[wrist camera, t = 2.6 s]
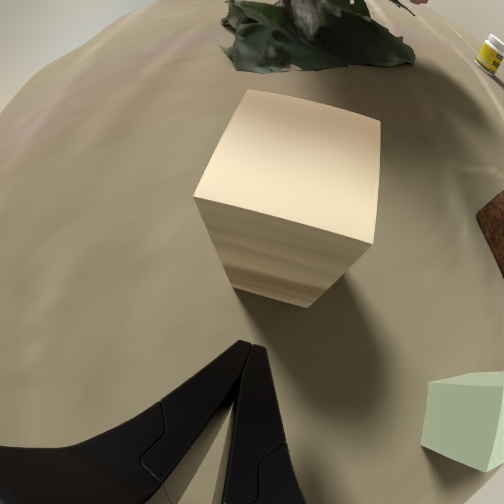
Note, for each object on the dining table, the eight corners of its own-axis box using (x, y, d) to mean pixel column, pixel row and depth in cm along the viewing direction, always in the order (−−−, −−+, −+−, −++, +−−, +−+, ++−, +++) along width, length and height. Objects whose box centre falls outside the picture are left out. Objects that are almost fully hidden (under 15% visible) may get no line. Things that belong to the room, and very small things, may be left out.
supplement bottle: (488, 76, 27) (504, 46, 19) (471, 60, 29) (485, 30, 21) (496, 77, 28) (511, 49, 20) (479, 61, 29) (493, 34, 21)
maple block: (307, 308, 16) (372, 243, 6) (232, 287, 16) (193, 196, 7) (323, 238, 17) (380, 121, 8) (254, 219, 18) (247, 89, 8)
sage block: (466, 429, 12) (532, 442, 5) (420, 444, 12) (485, 472, 5) (473, 372, 13) (544, 367, 7) (428, 382, 13) (503, 386, 7)
